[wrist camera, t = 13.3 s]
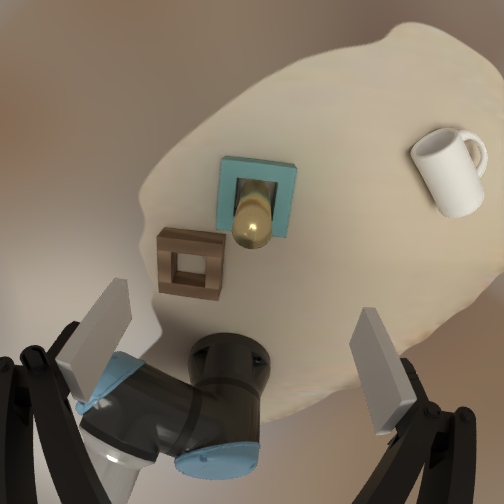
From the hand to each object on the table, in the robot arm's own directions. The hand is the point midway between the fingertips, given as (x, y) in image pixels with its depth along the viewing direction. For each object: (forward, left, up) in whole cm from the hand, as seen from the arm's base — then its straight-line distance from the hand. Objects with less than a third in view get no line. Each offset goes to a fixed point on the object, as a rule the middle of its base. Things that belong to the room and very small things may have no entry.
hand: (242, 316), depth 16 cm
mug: (+10, -27, -27) cm, 39 cm away
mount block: (-11, +8, -26) cm, 29 cm away
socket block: (0, 0, -26) cm, 26 cm away
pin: (0, 0, -26) cm, 26 cm away
